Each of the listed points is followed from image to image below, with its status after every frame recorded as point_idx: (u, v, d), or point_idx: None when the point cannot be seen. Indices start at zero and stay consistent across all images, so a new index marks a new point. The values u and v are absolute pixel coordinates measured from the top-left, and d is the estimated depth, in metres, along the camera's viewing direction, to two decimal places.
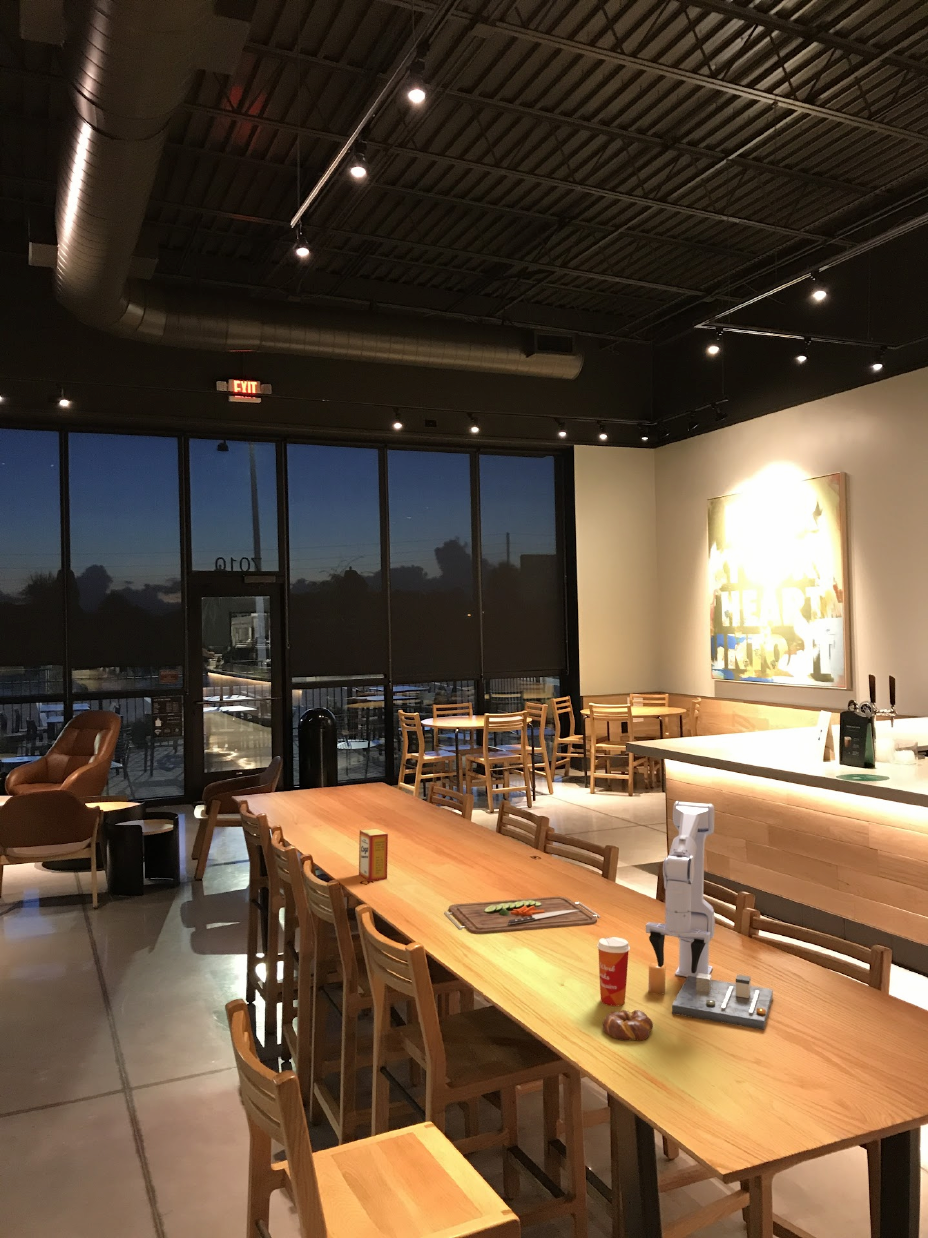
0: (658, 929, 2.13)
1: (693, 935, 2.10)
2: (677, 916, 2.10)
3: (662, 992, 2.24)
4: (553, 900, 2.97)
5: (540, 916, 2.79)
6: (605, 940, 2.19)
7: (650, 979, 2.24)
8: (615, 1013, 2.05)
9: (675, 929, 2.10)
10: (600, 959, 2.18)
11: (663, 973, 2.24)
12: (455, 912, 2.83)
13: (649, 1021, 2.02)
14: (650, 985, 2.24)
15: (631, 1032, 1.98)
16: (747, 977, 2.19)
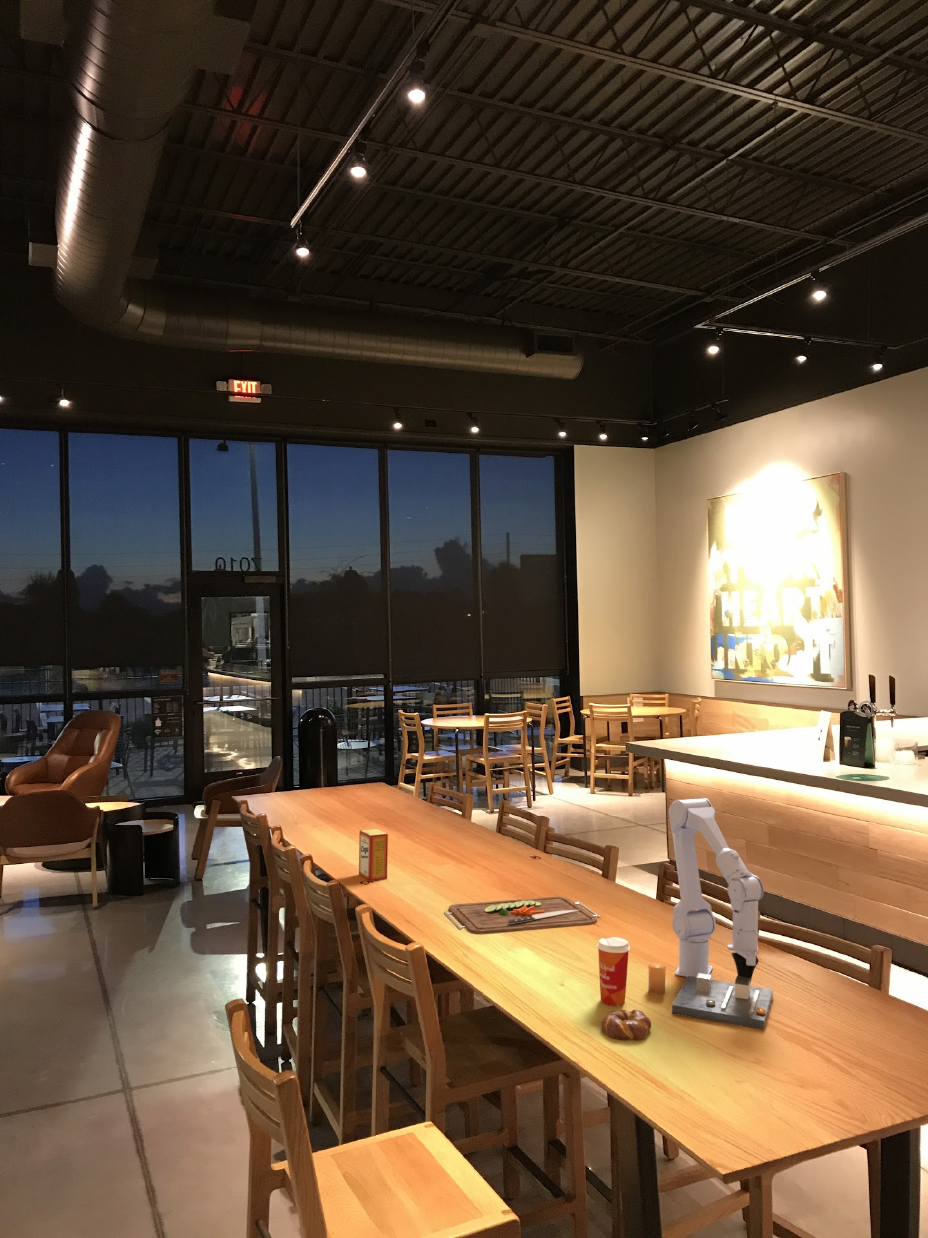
0: None
1: (740, 953, 2.17)
2: (733, 932, 2.20)
3: (662, 992, 2.24)
4: (553, 900, 2.97)
5: (540, 916, 2.79)
6: (605, 940, 2.19)
7: (650, 979, 2.24)
8: (614, 1012, 2.05)
9: (733, 943, 2.21)
10: (600, 959, 2.18)
11: (663, 973, 2.24)
12: (455, 912, 2.83)
13: (648, 1020, 2.02)
14: (650, 985, 2.24)
15: (629, 1031, 1.98)
16: (747, 978, 2.18)
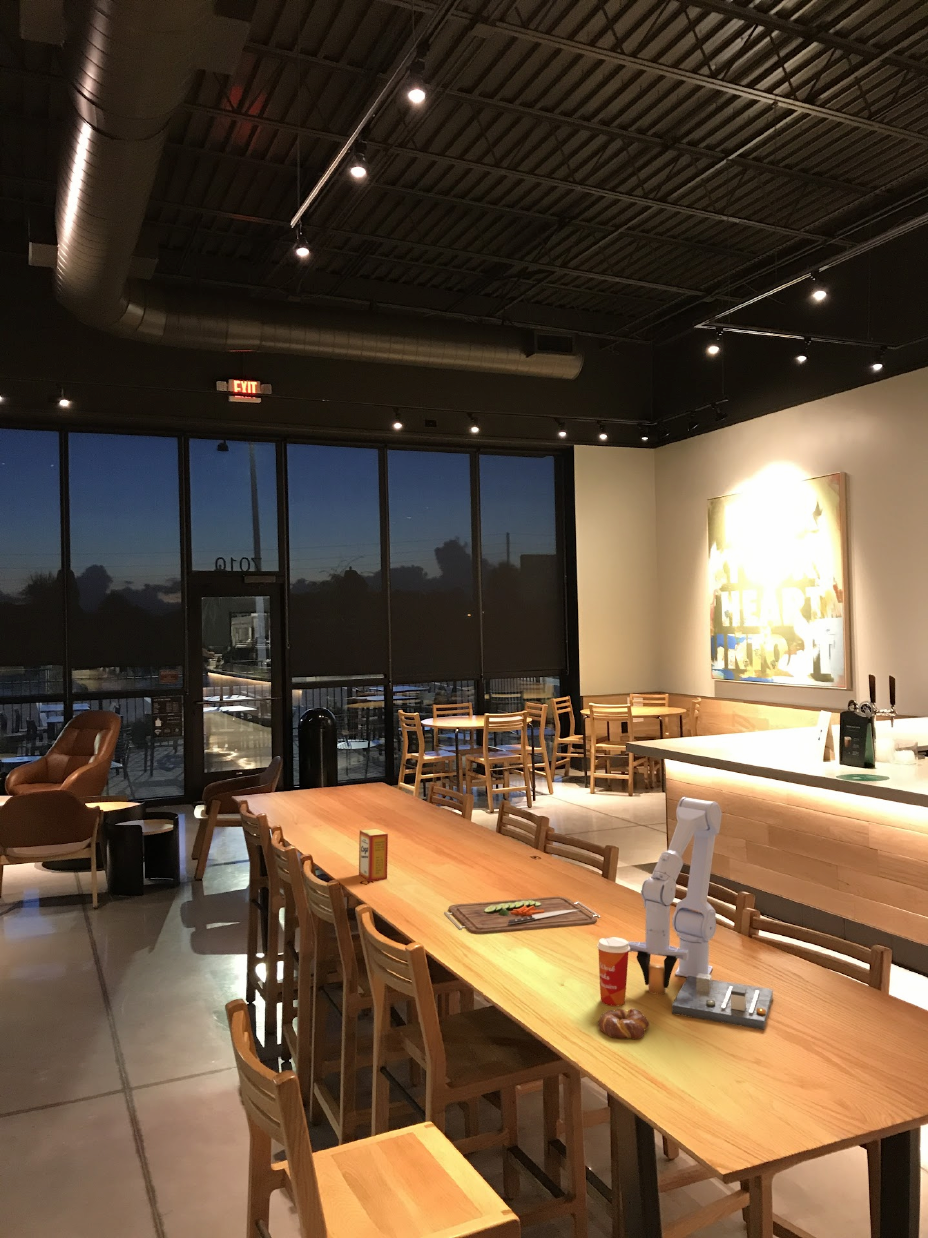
0: (639, 948, 2.25)
1: (672, 953, 2.22)
2: (658, 935, 2.23)
3: (662, 992, 2.24)
4: (553, 900, 2.97)
5: (540, 916, 2.79)
6: (605, 940, 2.19)
7: (650, 979, 2.24)
8: (611, 1012, 2.06)
9: (655, 948, 2.23)
10: (600, 959, 2.18)
11: (663, 973, 2.24)
12: (455, 912, 2.83)
13: (645, 1019, 2.02)
14: (650, 985, 2.24)
15: (626, 1030, 1.98)
16: (743, 989, 2.11)
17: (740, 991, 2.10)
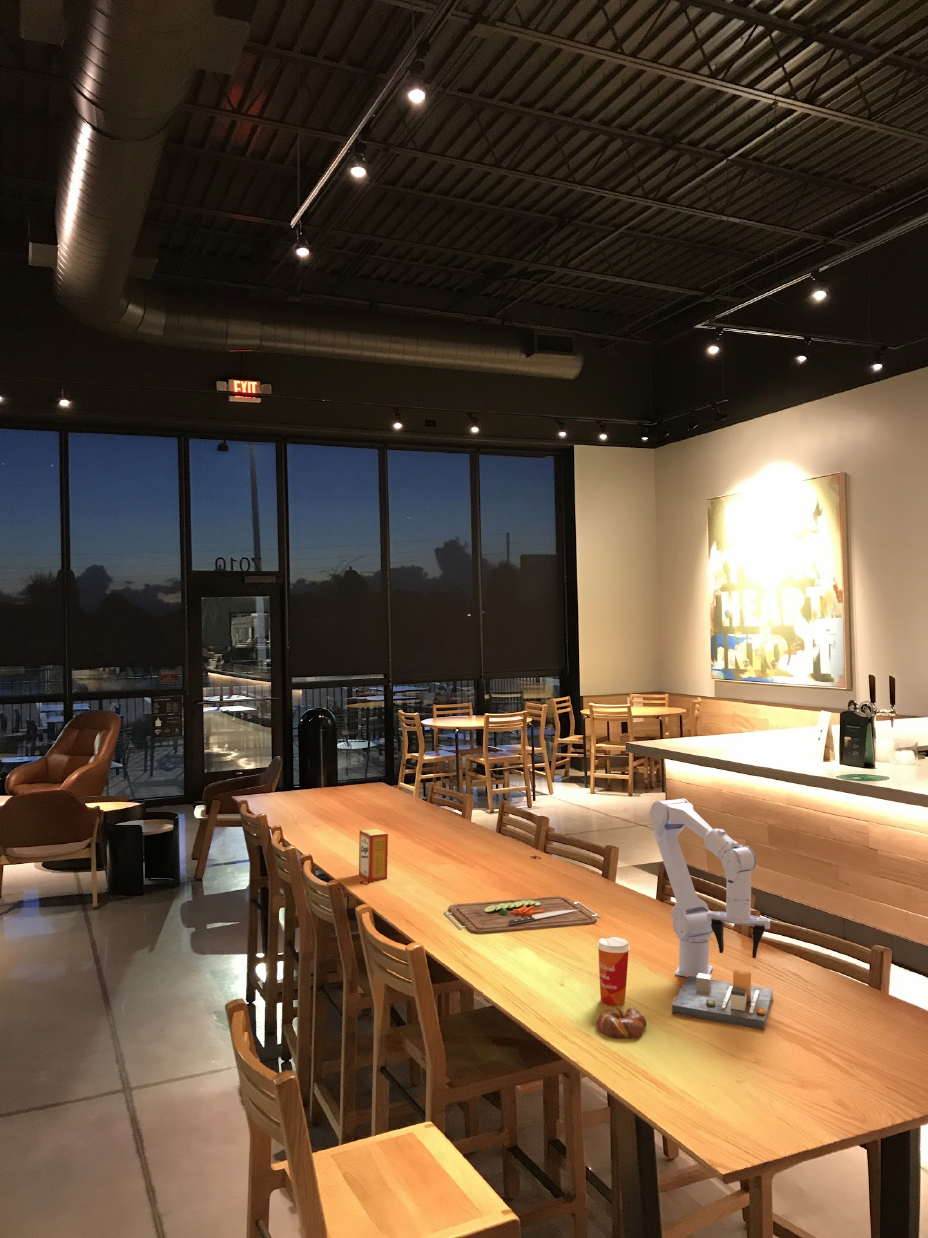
0: (720, 917, 2.25)
1: (754, 922, 2.21)
2: (740, 904, 2.22)
3: (748, 1000, 2.15)
4: (552, 900, 2.97)
5: (540, 916, 2.79)
6: (605, 940, 2.19)
7: (735, 986, 2.15)
8: (609, 1011, 2.06)
9: (737, 916, 2.22)
10: (600, 959, 2.18)
11: (749, 980, 2.15)
12: (455, 912, 2.83)
13: (643, 1018, 2.03)
14: None
15: (624, 1030, 1.99)
16: (743, 989, 2.11)
17: (740, 991, 2.10)
